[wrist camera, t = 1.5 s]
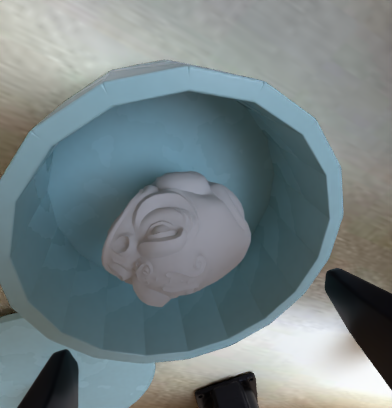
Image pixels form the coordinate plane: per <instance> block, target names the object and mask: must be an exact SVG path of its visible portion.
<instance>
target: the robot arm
mask: <svg viewBox="0 0 392 408" xmlns="http://www.w3.org/2000/svg"><path fill="white" fill-rule="evenodd" d="M325 291H326V293H327V295H328V297H329V298H330V300H331V302H332V303H333V305H334V307H335V308H336V310H337V312H338V313H339V315H340V317H341V319H342V320H343V322H344V324H345V325H346V327H347V329H348V330H349V332H350V333H351V335H352V336H353V338H354V339H355V341H356V342H357V343H358V345H359V346H360V347H361V349H362V350H363V351H364V353H365V354H366V356H367V357H368V358H369V360H370V361H371V362H372V364H373V365H374V367H375V368H376V369H377V371H378V372H379V373H380V375H381V376H382V378H383V379H384V380H385V382H386V383H387V384H388V386H389V387H390V388H391V390H392V294H391V293H389V292H387V291H385V290H383V289H381V288H379V287H377V286H375V285H373V284H371V283H369V282H367V281H365V280H363V279H361V278H358V277H356V276H354V275H352V274H350V273H348V272H346V271H344V270H342V269H339V268H335V269H332V270H329V271H327V273H326V280H325ZM78 387H79V368H78V363H77V361H76V360H75V358H74V357H73V356H72V354H71V353H70V351H69V350H67V349H64V350H60V351H57V352H55V353H53V354H52V355H51V357H50V358H49V360H48V361H47V363H46V364H45V366H44V367H43V369H42V370H41V372H40V373H39V375H38V376H37V378H36V379H35V381H34V382H33V384H32V386H31V387H30V389H29V390H28V392H27V393H26V395H25V396H24V398H23V399H22V401H21V402H20V404H19V405H18V407H17V408H78ZM195 396H196V400H197V403H198V406H199V408H259V406H258V401H257V389H256V378H255V375H254V373H249V374H246V375H243V376H240V377H237V378H234V379H231V380H228V381H225V382H222V383H219V384H216V385H213V386H210V387H207V388H204V389H201V390H198V391H196V392H195Z"/></svg>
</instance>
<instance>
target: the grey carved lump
mask: <svg viewBox="0 0 392 408" xmlns="http://www.w3.org/2000/svg"><path fill="white" fill-rule="evenodd" d="M250 243H251V232H250V229H249V226H248V223H247V222H246V221H245V219H244V210H243V207H242V205H241V203H240V201H239V200H238V198H237V197H236V196H235V194H234V193H233V192H232V191H230V190H229V189H228V188H227V187H225V186H224V185H222V184H218V183H215V182H210V181H208V180H206V178H205V177H204V176H203V175H202V174H200V173H198V172H196V171H186V172H173V173H165V174H164V175H162V176H161V177H157V178H156V180H155V181H154V182H153V183H152V184H150V185H147V186H145V187H144V188H143V189H140V190H139V192H138V193H137V194H136V195H135V196H134V197H133V198H132V199H131V200H130V202H129V203H128V205H127V206H126V208H125V209H124V210H123V211H122V212H121V214H120V215H119V216H118V217H117V218H116V220H115V221H114V222H113V223H112V225H111V227H110V229H109V230H108V235H107V238H106V240H105V243H104V246H103V249H102V256H101V259H102V265H103V266H104V268H105V270H107V271H108V272H109V273H110V274H112V275H114V276H117V277H118V278H119V279H120V280H121V281H125V283H128V284H131V285H133V290H134V291H135V293H136V295H137V297H138V298H139V299H140V300H141V301H142V302H144V303H145V304H147V305H150V306H155V307H163V306H164V305H165V304H166V303H167V302H169V301H170V300H171V299H172V298H177V297H178V296H179V295H180V296H181V295H188V294H192V293H195V292H197V291H200V290H201V289H202V288H204V287H206V286H208V285H210V284H212V283H214V282H216V281H218V280H219V279H221V278H223V276H225V275H226V274H227V273H229V272H230V271H231V270H232V269H234V268H235V267H236V266H237V265H238V264H239V263H240V262H241V261H242V259H243V258H244V256H245V255H246V252H247V250H248V248H249V246H250Z"/></svg>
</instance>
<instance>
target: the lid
mask: <svg viewBox="0 0 392 408" xmlns="http://www.w3.org/2000/svg"><path fill="white" fill-rule="evenodd" d="M64 349H67V350H69V351H70V353H71V354H72V356H73V357H74V358H75V360H76V361H77V363H78V368H79V387H78V408H128V407H130V406H131V405H132V404H133V403H135V402H136V401H137V400H138V399H139V398H140V397H141V396H142V395H143V394H144V393H145V391H146V390H147V389H148V387H149V385H150V384H151V382H152V379H153V377H154V373H155V363H146V364H143V363H141V364H140V363H132V362H123V361H115V360H107V359H98V358H96V357H95V358H93V357H91V356H88V355H86V354H84V353H81V352H79V351H76V350H74V349H71V348H69V347H66V346H64V345H61V344H59V343H56V342H54V341H51V340H49V339H47V338H46V337H45V336H44V335H43V334H42V333H41V332H39V331H38V330H37V329H36V328H35V327H34V326H32V325H31V324H30V323H29V322H28V321H27V320H25V319H24V318H23V317H22V316H21V315H20V314H18V313H14V314H10V315H6V316H3V317H0V408H17V407H18V405H19V404H20V402H21V401H22V399H23V398H24V396H25V395H26V393H27V392H28V390H29V389H30V387H31V386H32V384H33V382H34V381H35V379H36V378H37V376H38V375H39V373H40V372H41V370H42V369H43V367H44V366H45V364H46V363H47V361H48V360H49V358H50V357H51V355H52V354H53V353H55V352H57V351H60V350H64Z"/></svg>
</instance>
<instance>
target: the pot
mask: <svg viewBox="0 0 392 408" xmlns="http://www.w3.org/2000/svg"><path fill="white" fill-rule="evenodd" d="M186 171H196V172H198V173H200V174H202V175H203V176H204V177H205V178H206V180H208V181H210V182H215V183H218V184H222V185H224V186H225V187H227V188H228V189H229V190H230V191H232V192H233V193H234V194H235V196H236V197H237V198H238V200H239V201H240V203H241V205H242V207H243V210H244V219H245V221H246V222H247V223H248V226H249V229H250V232H251V243H250V246H249V248H248V250H247V252H246V255H245V256H244V258H243V259H242V261H241V262H240V263H239V264H238V265H237V266H236V267H235V268H234V269H232V270H231V271H230V272H229V273H227V274H226V275H225V276H223V278H221V279H219V280H218V281H216V282H214V283H212V284H210V285H208V286H206V287H204V288H202V289H201V290H200V291H197V292H195V293H192V294H188V295H181V296H180V295H179V296H178V297H177V298H172V299H171V300H170V301H169V302H167V303H166V304H165V305H164V306H163V307H155V306H150V305H147V304H145V303H144V302H142V301H141V300H140V299H139V298H138V297H137V295H136V293H135V291H134V290H133V285H131V284H128V283H125V281H121V280H120V279H119V278H118V277H117V276H114V275H112V274H110V273H109V272H108V271H107V270H105V268H104V266H103V265H102V259H101V256H102V249H103V246H104V243H105V240H106V238H107V235H108V230H109V229H110V227H111V225H112V223H113V222H114V221H115V220H116V218H117V217H118V216H119V215H120V214H121V212H122V211H123V210H124V209H125V208H126V206H127V205H128V203H129V202H130V200H131V199H132V198H133V197H134V196H135V195H136V194H137V193H138V192H139V190H140V189H143V188H144V187H145V186H147V185H150V184H152V183H153V182H154V181H155V180H156V178H157V177H161V176H162V175H164V174H165V173H173V172H186ZM342 218H343V195H342V173H341V166H340V164H339V162H338V160H337V158H336V157H335V155H334V153H333V151H332V149H331V147H330V145H329V143H328V141H327V139H326V137H325V135H324V133H323V131H322V130H321V128H320V126H319V124H318V122H317V120H316V119H315V118H314V117H313V116H311V115H310V114H309V113H307V112H306V111H305V110H303V109H302V108H300V107H299V106H298V105H296V104H295V103H294V102H292V101H291V100H290V99H288V98H287V97H286V96H284V95H283V94H281V93H280V92H279V91H277V90H276V89H275V88H273V87H272V86H271V85H269V84H268V83H267V82H264V81H262V80H258V79H254V78H249V77H245V76H241V75H236V74H232V73H227V72H223V71H219V70H214V69H209V68H204V67H200V66H195V65H190V64H185V63H180V62H176V61H171V60H160V61H155V62H150V63H144V64H137V65H134V66H129V67H124V68H119V69H113V70H111V71H109V72H107V73H106V74H104V75H103V76H101V77H100V78H98V79H97V80H95V81H94V82H92V83H91V84H89V85H88V86H86V87H85V88H83V89H82V90H80V91H79V92H77V93H76V94H74V95H73V96H71V97H70V98H68V99H67V100H66V101H64V102H63V103H62V104H61V105H60V106H58V107H57V108H56V109H55V110H54V111H53V112H51V113H50V114H49V115H48V116H47V117H45V118H44V119H43V120H42V121H41V122H39V123H38V124H37V125H36V126H35V127H33V128H32V130H31V131H29V133H28V134H27V136H26V138H25V139H24V141H23V143H22V144H21V146H20V147H19V149H18V151H17V152H16V154H15V156H14V157H13V159H12V161H11V162H10V164H9V166H8V167H7V169H6V170H5V172H4V174H3V175H2V177H1V179H0V285H1V287H2V289H3V291H4V293H5V295H6V298H7V300H8V302H9V304H10V306H11V307H12V308H13V309H14V310H15V311H16V312H17V313H18V314H20V315H21V316H22V317H23V318H24V319H25V320H27V321H28V322H29V323H30V324H31V325H32V326H34V327H35V328H36V329H37V330H38V331H39V332H41V333H42V334H43V335H44V336H45V337H46V338H47V339H49V340H51V341H54V342H56V343H59V344H61V345H64V346H66V347H69V348H71V349H74V350H76V351H79V352H81V353H84V354H86V355H88V356H91V357H93V358H95V357H96V358H98V359H107V360H115V361H123V362H132V363H140V364H141V363H143V364H146V363H156V362H166V361H175V360H185V359H190V358H193V357H197V356H200V355H203V354H206V353H209V352H212V351H216V350H219V349H222V348H225V347H228V346H231V345H233V344H235V343H237V342H238V341H240V340H242V339H244V338H246V337H247V336H249V335H251V334H253V333H255V332H256V331H258V330H260V329H262V328H264V327H265V326H267V325H269V324H270V323H272V322H273V321H274V320H275V319H276V318H277V317H279V316H280V315H281V314H282V313H283V312H284V311H285V310H287V309H288V308H289V307H290V306H291V305H292V304H293V303H295V302H296V301H297V300H298V299H299V298H300V297H301V296H303V294H305V292H306V291H307V289H308V288H309V286H310V285H311V284H312V282H313V281H314V279H315V278H316V276H317V275H318V273H319V272H320V271H321V269H322V268H323V266H324V265H325V263H326V262H327V261H328V259H329V257H330V254H331V251H332V248H333V245H334V242H335V239H336V236H337V233H338V230H339V227H340V224H341V221H342Z"/></svg>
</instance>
